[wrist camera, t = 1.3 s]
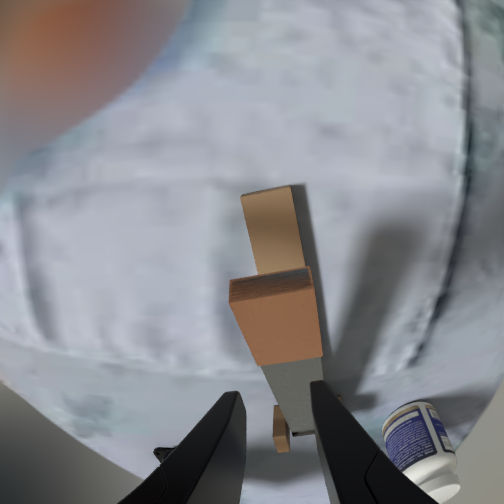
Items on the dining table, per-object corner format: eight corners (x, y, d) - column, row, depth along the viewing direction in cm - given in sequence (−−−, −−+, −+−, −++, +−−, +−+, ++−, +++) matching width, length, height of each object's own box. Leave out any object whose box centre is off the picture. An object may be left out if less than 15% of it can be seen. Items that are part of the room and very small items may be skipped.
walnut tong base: (342, 413, 26) (347, 443, 22) (278, 422, 26) (277, 452, 23) (311, 180, 19) (319, 189, 16) (220, 199, 20) (208, 211, 17)
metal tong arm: (328, 418, 24) (330, 433, 23) (291, 424, 25) (292, 438, 24) (309, 264, 13) (315, 290, 12) (229, 278, 13) (228, 305, 12)
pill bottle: (374, 439, 27) (392, 520, 18) (389, 402, 25) (417, 490, 16) (423, 433, 26) (449, 506, 17) (442, 395, 25) (478, 473, 15)
